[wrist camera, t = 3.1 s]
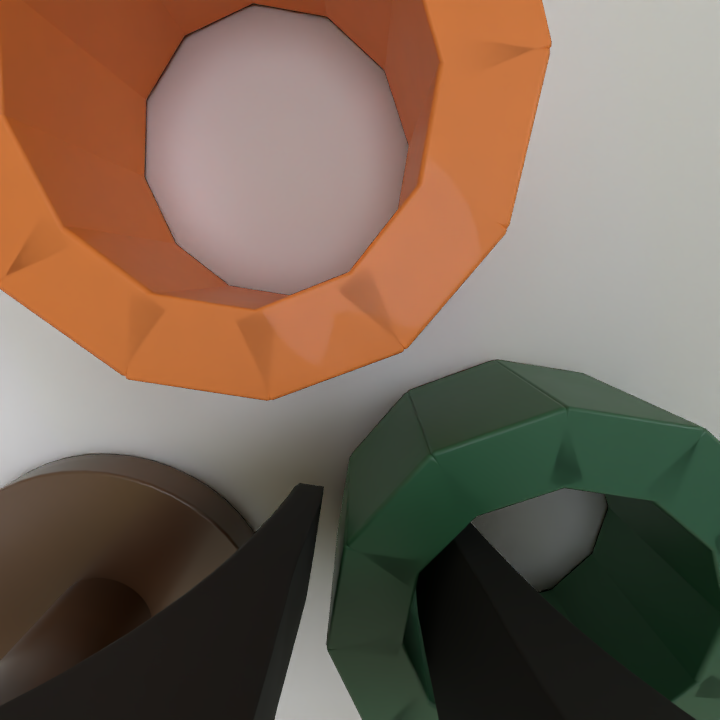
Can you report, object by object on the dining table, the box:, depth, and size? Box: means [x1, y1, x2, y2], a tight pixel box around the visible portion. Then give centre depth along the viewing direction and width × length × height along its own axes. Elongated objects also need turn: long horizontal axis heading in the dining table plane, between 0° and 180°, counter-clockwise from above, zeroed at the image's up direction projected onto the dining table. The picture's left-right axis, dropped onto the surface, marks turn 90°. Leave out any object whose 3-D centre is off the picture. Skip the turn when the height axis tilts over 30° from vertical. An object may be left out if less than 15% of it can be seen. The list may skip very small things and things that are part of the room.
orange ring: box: [0, 0, 551, 401], centre depth 7 cm, size 9×9×4 cm
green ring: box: [326, 360, 720, 720], centre depth 9 cm, size 9×9×4 cm
